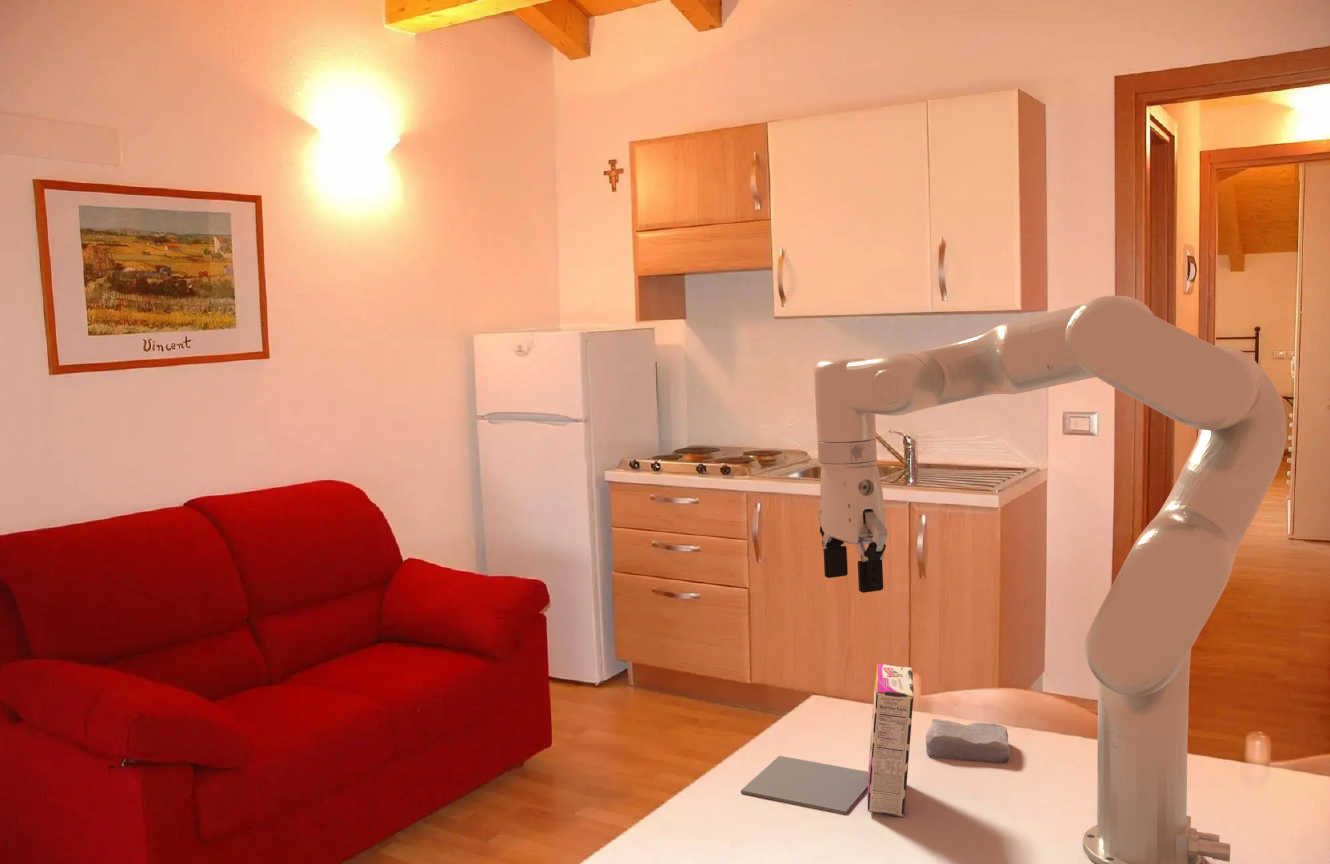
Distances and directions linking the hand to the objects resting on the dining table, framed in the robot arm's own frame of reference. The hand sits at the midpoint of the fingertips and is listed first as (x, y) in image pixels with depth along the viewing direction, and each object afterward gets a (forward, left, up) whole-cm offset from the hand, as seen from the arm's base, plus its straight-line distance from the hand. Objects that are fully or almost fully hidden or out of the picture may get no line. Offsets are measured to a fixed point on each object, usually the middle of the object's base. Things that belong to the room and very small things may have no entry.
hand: (853, 583), depth 141 cm
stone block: (-9, -23, -30) cm, 38 cm away
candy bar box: (-3, -1, -29) cm, 29 cm away
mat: (+7, -1, -29) cm, 30 cm away
